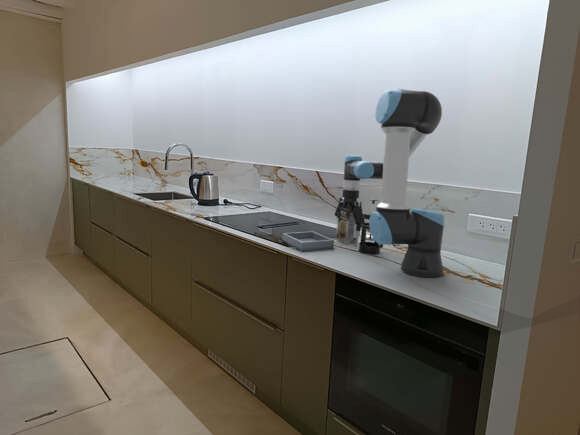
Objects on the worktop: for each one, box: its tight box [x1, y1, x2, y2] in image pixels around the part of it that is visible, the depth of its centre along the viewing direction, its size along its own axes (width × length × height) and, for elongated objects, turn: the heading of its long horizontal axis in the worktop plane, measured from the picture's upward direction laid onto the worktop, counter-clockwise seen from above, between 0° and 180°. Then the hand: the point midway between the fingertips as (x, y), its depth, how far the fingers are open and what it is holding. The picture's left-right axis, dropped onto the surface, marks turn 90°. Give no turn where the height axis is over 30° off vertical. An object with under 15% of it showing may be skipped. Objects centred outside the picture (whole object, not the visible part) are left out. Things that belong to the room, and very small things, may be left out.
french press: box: [357, 198, 384, 255], centre depth 175 cm, size 12×9×23 cm
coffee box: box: [336, 208, 359, 246], centre depth 191 cm, size 9×6×16 cm
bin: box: [282, 230, 335, 253], centre depth 183 cm, size 18×16×4 cm
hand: (347, 234), depth 191 cm, fingers open, 13 cm apart
